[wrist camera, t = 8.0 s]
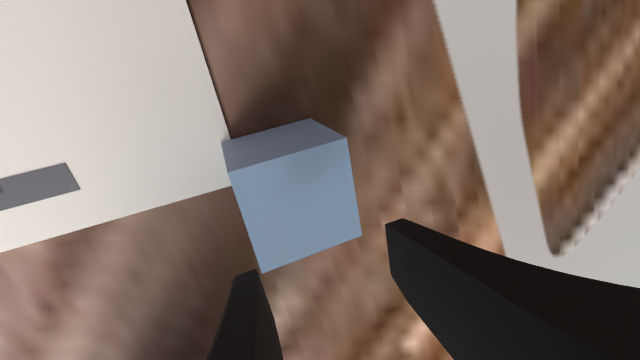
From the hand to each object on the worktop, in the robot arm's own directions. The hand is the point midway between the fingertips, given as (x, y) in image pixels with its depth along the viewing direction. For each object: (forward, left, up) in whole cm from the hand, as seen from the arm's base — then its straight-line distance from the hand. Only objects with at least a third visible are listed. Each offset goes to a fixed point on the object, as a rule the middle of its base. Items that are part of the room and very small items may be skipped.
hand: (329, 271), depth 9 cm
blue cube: (0, 0, -9) cm, 9 cm away
